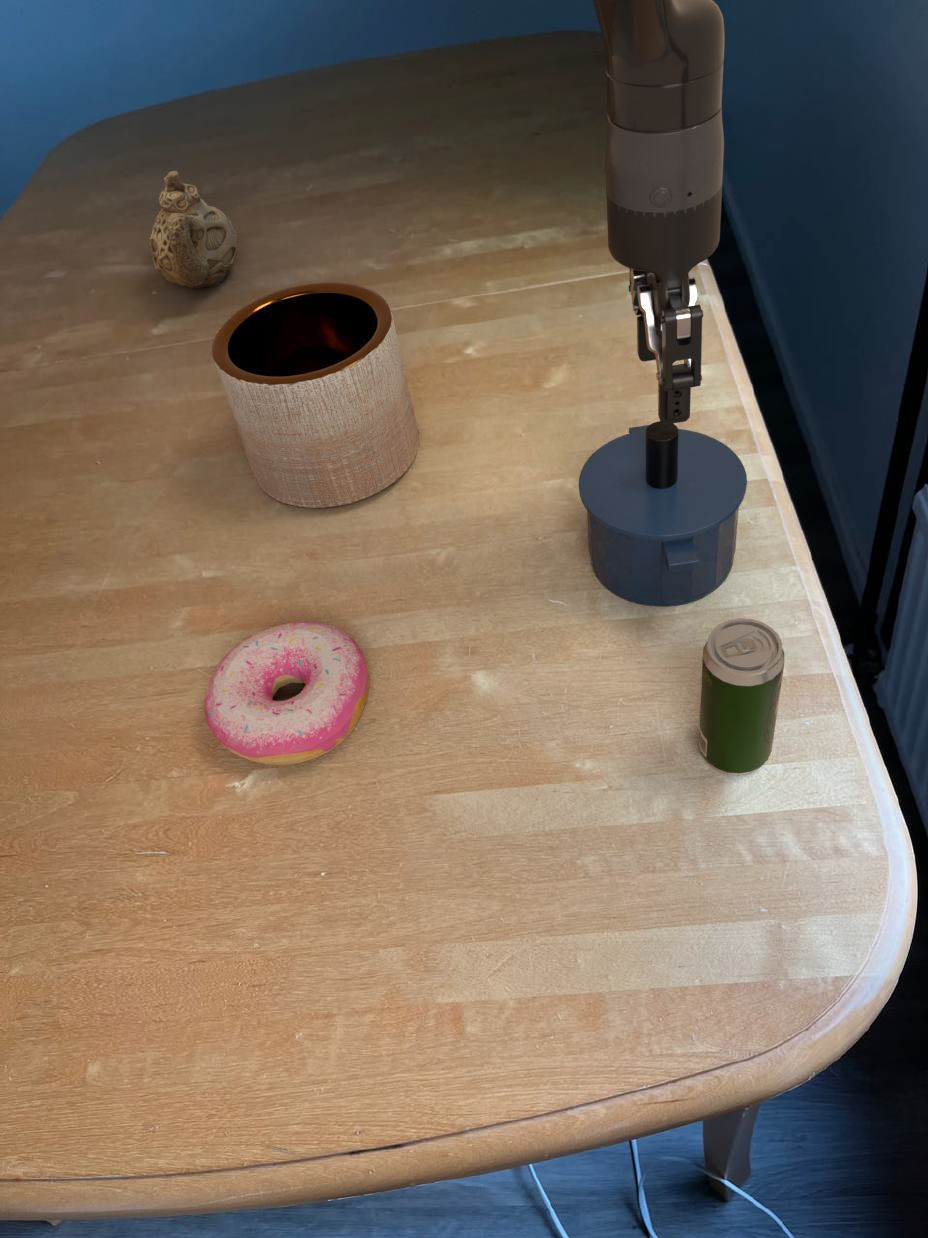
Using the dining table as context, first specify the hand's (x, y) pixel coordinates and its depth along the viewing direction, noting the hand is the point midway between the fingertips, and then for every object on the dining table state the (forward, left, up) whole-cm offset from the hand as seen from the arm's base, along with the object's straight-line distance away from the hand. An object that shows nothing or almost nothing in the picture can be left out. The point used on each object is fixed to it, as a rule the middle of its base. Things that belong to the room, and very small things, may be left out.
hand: (662, 387), depth 79 cm
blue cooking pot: (0, 0, -18) cm, 18 cm away
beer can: (-1, +22, -18) cm, 28 cm away
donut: (+33, +12, -18) cm, 40 cm away
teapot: (+49, -64, -18) cm, 83 cm away
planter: (+30, -21, -18) cm, 41 cm away
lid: (0, 0, -10) cm, 10 cm away
